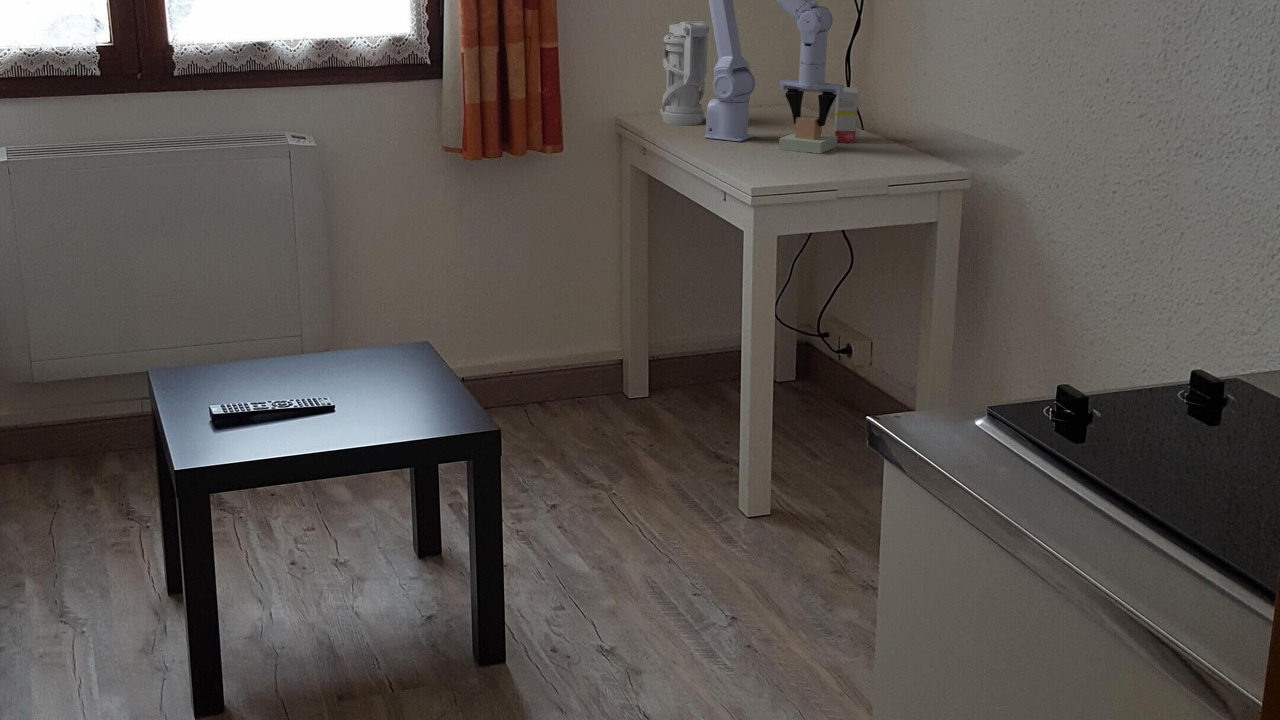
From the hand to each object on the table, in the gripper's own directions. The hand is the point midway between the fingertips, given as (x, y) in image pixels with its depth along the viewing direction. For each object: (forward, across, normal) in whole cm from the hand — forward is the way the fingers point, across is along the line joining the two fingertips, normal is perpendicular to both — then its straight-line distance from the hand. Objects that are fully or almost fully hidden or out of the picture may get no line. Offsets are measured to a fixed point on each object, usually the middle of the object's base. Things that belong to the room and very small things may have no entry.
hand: (809, 124), depth 306 cm
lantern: (+6, -39, +15) cm, 43 cm away
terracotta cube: (+3, 0, 0) cm, 3 cm away
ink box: (+6, +3, +15) cm, 16 cm away
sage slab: (+5, 0, 0) cm, 5 cm away
